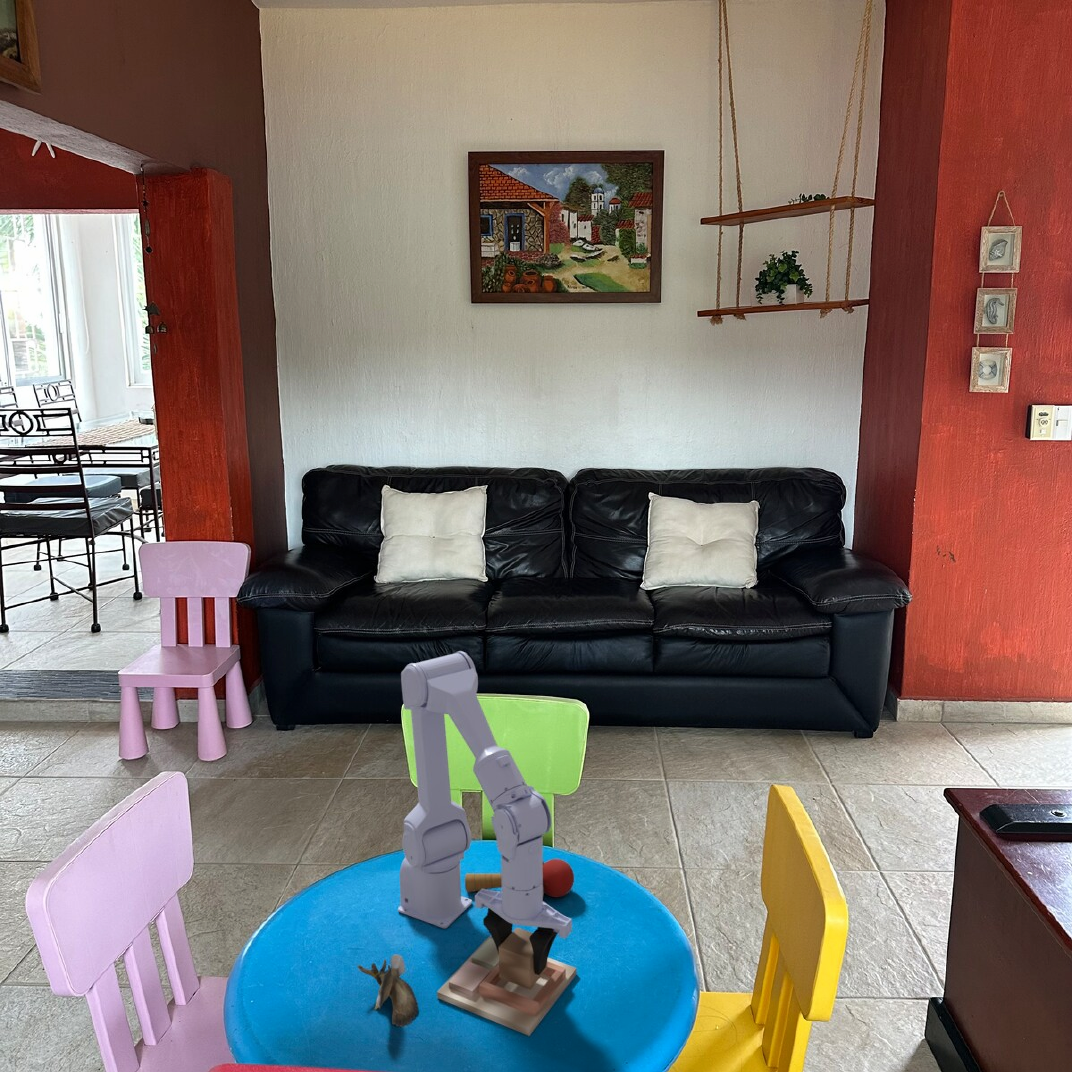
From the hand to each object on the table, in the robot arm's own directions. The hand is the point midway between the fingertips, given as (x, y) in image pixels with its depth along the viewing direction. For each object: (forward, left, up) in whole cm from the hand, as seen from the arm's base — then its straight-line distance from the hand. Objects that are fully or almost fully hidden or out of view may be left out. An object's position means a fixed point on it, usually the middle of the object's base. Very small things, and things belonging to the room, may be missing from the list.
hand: (522, 963), depth 138 cm
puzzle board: (-2, 0, -5) cm, 5 cm away
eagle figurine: (-15, -11, -5) cm, 19 cm away
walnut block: (0, 0, -2) cm, 2 cm away
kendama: (-12, +20, -5) cm, 24 cm away
